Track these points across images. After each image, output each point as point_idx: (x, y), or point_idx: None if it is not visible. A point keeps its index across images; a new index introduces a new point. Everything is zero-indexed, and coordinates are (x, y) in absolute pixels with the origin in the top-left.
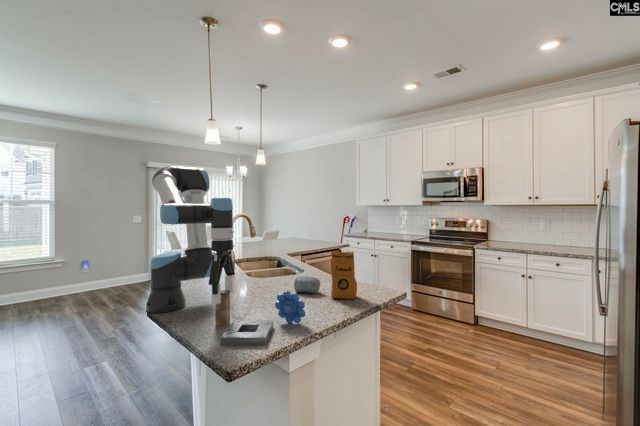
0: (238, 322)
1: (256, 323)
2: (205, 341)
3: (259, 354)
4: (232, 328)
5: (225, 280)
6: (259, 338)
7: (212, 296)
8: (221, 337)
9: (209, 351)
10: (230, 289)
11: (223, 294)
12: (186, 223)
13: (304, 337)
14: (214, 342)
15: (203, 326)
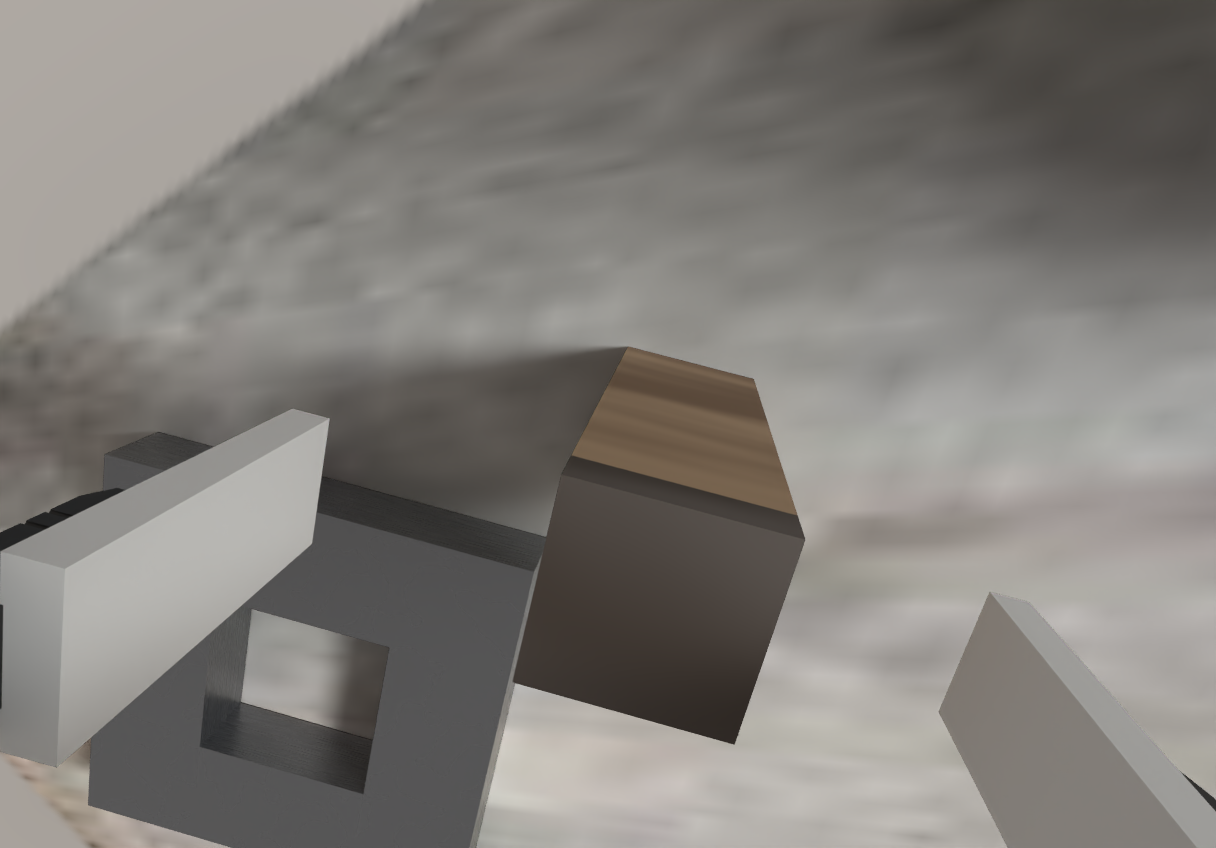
0: (460, 616)
1: (399, 773)
2: (258, 288)
3: None
4: (305, 558)
5: (1133, 782)
6: (97, 758)
7: (213, 457)
8: (105, 465)
9: (63, 351)
10: (972, 728)
11: (529, 619)
12: None
13: None
14: (228, 375)
15: (663, 204)
